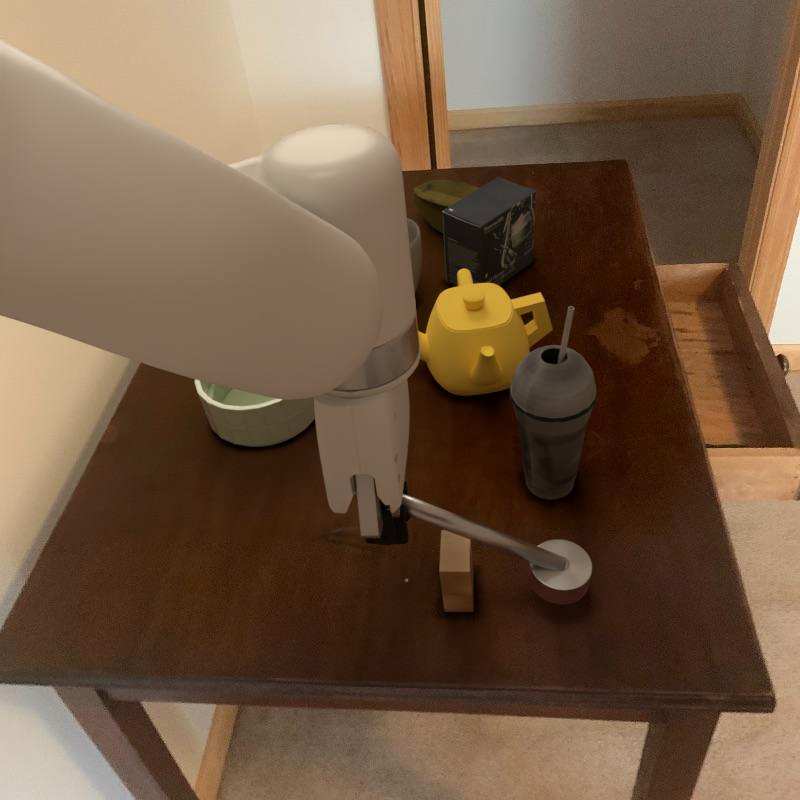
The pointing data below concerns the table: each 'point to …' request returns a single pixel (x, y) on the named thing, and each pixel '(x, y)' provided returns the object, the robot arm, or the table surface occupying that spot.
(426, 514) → the ladle
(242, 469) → the table surface
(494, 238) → the box
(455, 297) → the teapot
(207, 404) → the bowl
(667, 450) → the table surface
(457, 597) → the shipping carton
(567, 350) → the beverage cup
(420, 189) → the olive green dish
